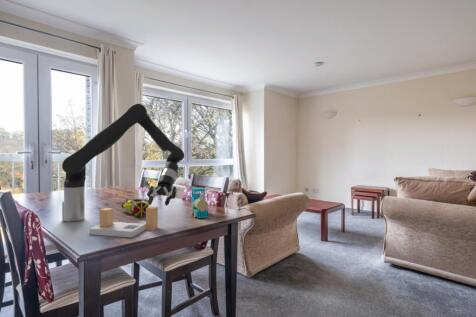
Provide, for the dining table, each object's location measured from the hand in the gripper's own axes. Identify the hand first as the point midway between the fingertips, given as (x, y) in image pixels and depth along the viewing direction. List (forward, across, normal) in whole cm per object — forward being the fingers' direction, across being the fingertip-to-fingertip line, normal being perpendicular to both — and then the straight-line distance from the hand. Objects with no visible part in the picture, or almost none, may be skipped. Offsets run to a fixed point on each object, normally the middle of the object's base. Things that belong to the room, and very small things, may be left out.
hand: (157, 204), depth 135 cm
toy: (-8, -23, +23) cm, 33 cm away
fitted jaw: (+17, -18, -3) cm, 25 cm away
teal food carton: (-9, +15, +24) cm, 30 cm away
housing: (+17, -12, -3) cm, 21 cm away
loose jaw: (+12, 0, +3) cm, 12 cm away
